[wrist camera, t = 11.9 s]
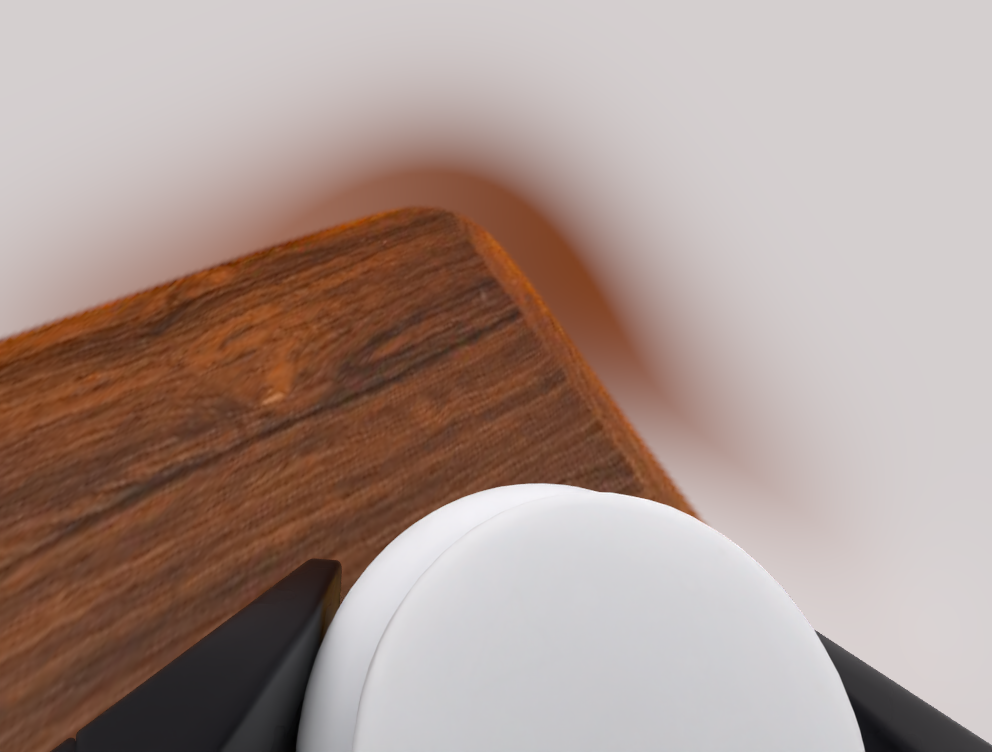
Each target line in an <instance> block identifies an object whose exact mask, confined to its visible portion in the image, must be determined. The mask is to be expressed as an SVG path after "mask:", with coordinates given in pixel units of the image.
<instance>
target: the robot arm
mask: <svg viewBox="0 0 992 752" xmlns="http://www.w3.org/2000/svg"><path fill="white" fill-rule="evenodd" d="M341 573H342V567H341V564H340V562H339V561H337V560H326V559H310V560H308V561H306V562H305V563H304V564H302V565H301V566H300V567H298V568H297V569H296V570H294V571H293V572H292V573H290V574H289V575H288V576H286V577H285V578H284V579H282V580H281V581H279V582H278V583H277V584H275V585H274V586H273V587H271V588H270V589H269V590H267V591H266V592H265V593H263V594H262V595H261V596H259V597H258V598H257V599H255V600H254V601H253V602H251V603H250V604H249V605H247V606H246V607H245V608H243V609H242V610H240V611H239V612H238V613H236V614H235V615H234V616H232V617H231V618H230V619H228V620H227V621H226V622H224V623H223V624H222V625H220V626H219V627H218V628H216V629H215V630H214V631H212V632H211V633H210V634H208V635H207V636H206V637H204V638H203V639H202V640H200V641H199V642H197V643H196V644H195V645H193V646H192V647H191V648H189V649H188V650H187V651H185V652H184V653H183V654H181V655H180V656H179V657H177V658H176V659H175V660H173V661H172V662H171V663H169V664H168V665H167V666H165V667H164V668H163V669H161V670H160V671H159V672H157V673H156V674H154V675H153V676H152V677H150V678H149V679H148V680H146V681H145V682H144V683H142V684H141V685H140V686H138V687H137V688H136V689H134V690H133V691H132V692H130V693H129V694H128V695H126V696H125V697H124V698H122V699H121V700H120V701H118V702H117V703H116V704H114V705H113V706H111V707H110V708H109V709H107V710H106V711H105V712H103V713H102V714H101V715H99V716H98V717H97V718H95V719H94V720H93V721H91V722H90V723H89V724H87V725H86V726H85V727H83V728H82V729H81V730H79V731H78V732H77V734H76V741H75V739H74V738H68V739H67V740H65V741H64V742H63V743H61V744H60V745H59V746H57V747H56V748H55V749H53V750H52V751H51V752H296V742H297V736H298V729H299V722H300V716H301V711H302V705H303V700H304V695H305V691H306V687H307V684H308V681H309V677H310V674H311V671H312V668H313V665H314V661H315V659H316V656H317V653H318V651H319V648H320V646H321V644H322V641H323V639H324V637H325V634H326V632H327V630H328V627H329V625H330V624H331V622H332V620H333V618H334V616H335V614H336V612H337V611H338V609H339V606H340V590H341ZM814 631H815V632H816V634H817V636H818V637H819V639H820V641H821V643H822V644H823V646H824V648H825V650H826V651H827V653H828V655H829V657H830V659H831V661H832V662H833V664H834V666H835V668H836V670H837V672H838V674H839V676H840V678H841V681H842V683H843V686H844V688H845V691H846V693H847V696H848V699H849V701H850V704H851V706H852V709H853V711H854V714H855V717H856V720H857V723H858V726H859V729H860V733H861V737H862V741H863V745H864V749H865V752H992V745H991V744H989V743H987V742H986V741H984V740H983V739H981V738H980V737H978V736H977V735H975V734H974V733H972V732H971V731H969V730H968V729H966V728H964V727H963V726H961V725H960V724H958V723H957V722H955V721H953V720H952V719H951V718H949V717H948V716H946V715H944V714H943V713H941V712H940V711H938V710H937V709H935V708H934V707H932V706H931V705H929V704H928V703H926V702H924V701H923V700H921V699H920V698H918V697H917V696H915V695H914V694H912V693H910V692H909V691H908V690H906V689H905V688H903V687H901V686H900V685H898V684H897V683H895V682H894V681H892V680H891V679H889V678H888V677H886V676H885V675H883V674H882V673H880V672H878V671H877V670H875V669H874V668H872V667H871V666H869V665H867V664H866V663H865V662H863V661H862V660H860V659H859V658H857V657H855V656H854V655H852V654H851V653H849V652H848V651H846V650H844V649H843V648H842V647H840V646H838V645H837V644H835V643H834V642H832V641H831V640H829V639H828V638H826V637H825V636H823V635H822V634H820V633H819V632H817V631H816V630H814Z"/></svg>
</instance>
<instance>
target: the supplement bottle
mask: <svg viewBox="0 0 992 752" xmlns="http://www.w3.org/2000/svg"><path fill="white" fill-rule="evenodd" d="M296 752H865V749H864V745H863V741H862V737H861V733H860V729H859V726H858V723H857V720H856V717H855V714H854V711H853V709H852V706H851V704H850V701H849V699H848V696H847V693H846V691H845V688H844V686H843V683H842V681H841V678H840V676H839V674H838V672H837V670H836V668H835V666H834V664H833V662H832V661H831V659H830V657H829V655H828V653H827V651H826V650H825V648H824V646H823V644H822V643H821V641H820V639H819V637H818V636H817V634H816V632H815V631H814V629H813V627H812V626H811V624H810V623H809V622H808V620H807V619H806V617H805V616H804V615H803V613H802V612H801V611H800V609H799V608H798V606H797V605H796V604H795V603H794V601H793V600H792V599H791V598H790V596H789V595H788V594H787V592H786V591H785V590H784V588H783V587H782V586H781V585H780V584H779V583H778V582H777V581H776V580H775V579H774V578H773V577H772V576H771V575H770V574H769V573H768V572H767V571H766V570H765V569H764V568H763V567H762V566H761V565H760V564H759V563H758V562H757V561H755V560H754V559H753V558H752V557H751V556H750V555H749V554H748V553H747V552H745V551H744V550H743V549H742V548H741V547H739V546H738V545H737V544H735V543H734V542H733V541H731V540H730V539H728V538H727V537H726V536H724V535H723V534H721V533H720V532H718V531H716V530H715V529H713V528H711V527H709V526H708V525H706V524H704V523H703V522H701V521H699V520H697V519H696V518H694V517H692V516H690V515H688V514H686V513H684V512H681V511H679V510H677V509H675V508H673V507H670V506H667V505H664V504H661V503H657V502H654V501H651V500H647V499H643V498H638V497H633V496H627V495H622V494H616V493H603V492H596V491H592V490H588V489H584V488H579V487H573V486H567V485H557V484H519V485H511V486H503V487H497V488H493V489H489V490H485V491H481V492H478V493H475V494H472V495H469V496H466V497H463V498H461V499H458V500H456V501H454V502H452V503H449V504H447V505H445V506H443V507H441V508H439V509H438V510H436V511H434V512H432V513H431V514H429V515H427V516H426V517H424V518H423V519H421V520H419V521H418V522H416V523H415V524H413V525H412V526H411V527H409V528H408V529H407V530H405V531H404V532H403V533H401V534H400V535H399V536H398V537H397V538H396V539H394V540H393V541H392V542H391V543H390V544H389V545H388V546H387V547H386V548H385V549H384V550H383V551H382V552H381V553H380V554H379V555H378V556H377V557H376V558H375V560H374V561H373V562H372V563H371V564H370V565H369V566H368V567H367V568H366V570H365V571H364V572H363V574H362V575H361V576H360V578H359V579H358V580H357V582H356V583H355V584H354V586H353V587H352V588H351V590H350V591H349V593H348V594H347V596H346V597H345V599H344V601H343V602H342V604H341V605H340V607H339V609H338V611H337V612H336V614H335V616H334V618H333V620H332V622H331V624H330V625H329V627H328V630H327V632H326V634H325V637H324V639H323V641H322V644H321V646H320V648H319V651H318V653H317V656H316V659H315V661H314V665H313V668H312V671H311V674H310V677H309V681H308V684H307V687H306V691H305V695H304V700H303V705H302V711H301V716H300V722H299V729H298V736H297V742H296Z"/></svg>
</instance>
